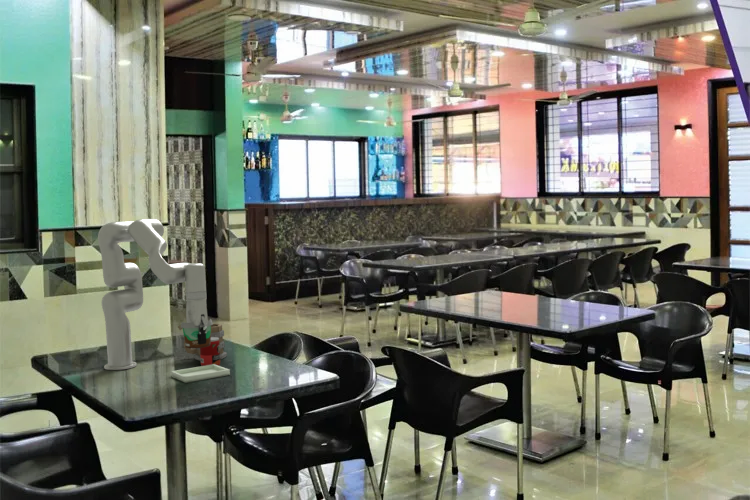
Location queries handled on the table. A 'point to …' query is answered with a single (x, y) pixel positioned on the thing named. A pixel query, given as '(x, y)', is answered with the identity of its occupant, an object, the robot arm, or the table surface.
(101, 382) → the table surface
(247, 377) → the table surface
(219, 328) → the tankard
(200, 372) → the tray
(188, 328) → the food container
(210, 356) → the canned food
